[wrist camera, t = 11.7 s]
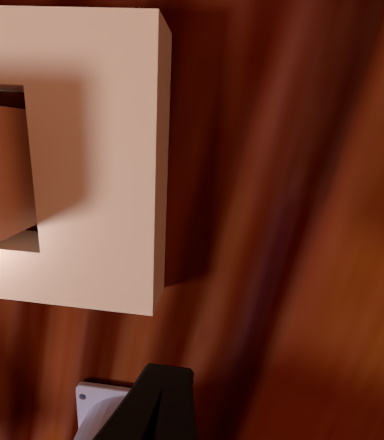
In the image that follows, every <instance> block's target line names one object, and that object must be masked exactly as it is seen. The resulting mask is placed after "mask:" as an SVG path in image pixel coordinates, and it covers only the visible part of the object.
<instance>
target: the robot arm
mask: <svg viewBox="0 0 384 440" xmlns="http://www.w3.org/2000/svg"><path fill="white" fill-rule="evenodd" d="M193 376H194V372H193V371H192V370H191V369H190V368H184V367H176V366H168V365H160V364H153V363H149V364H147V365H146V366H145V368H144V369H143V371H142V373H141V374H140V376H139V377H138V379H137V380H136V382H135V383H134V385H133V386H132V388H127V387H120V386H113V385H105V384H98V383H91V382H80V383H79V384H78V385H77V387H76V400H77V414H78V428H79V430H78V432H77V434H76V436H75V438H74V440H199V436H198V430H197V425H196V417H195V409H194V399H193Z"/></svg>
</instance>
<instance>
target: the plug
mask: <svg viewBox="0 0 384 440" xmlns="http://www.w3.org/2000/svg"><path fill="white" fill-rule="evenodd" d="M36 224H37V217H36V207H35V197H34V187H33V177H32V167H31V157H30V147H29V137H28V127H27V116H26V109H20V108H12V107H4V106H0V242H1V241H3V240H5V239H7V238H9V237H11V236H13V235H15V234H17V233H19V232H22V231H24V230H26V229H28V228H30V227H32V226H34V225H36Z"/></svg>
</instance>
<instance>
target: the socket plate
mask: <svg viewBox="0 0 384 440" xmlns="http://www.w3.org/2000/svg"><path fill="white" fill-rule="evenodd" d="M171 50H172V33H171V31H170V29H169V27H168V25H167V23H166V21H165V19H164V18H163V16H162V14H161V12H160V10H159V9H155V8H106V7H56V6H7V5H0V91H9V92H24V96H25V106H26V116H27V127H28V137H29V147H30V157H31V167H32V177H33V187H34V197H35V207H36V217H37V227H38V231H29V230H24V231H22V232H19V233H17V234H15V235H13V236H11V237H9V238H7V239H5V240H3V241H1V242H0V299H9V300H17V301H26V302H35V303H43V304H52V305H61V306H69V307H78V308H87V309H95V310H104V311H113V312H122V313H130V314H139V315H148V316H153V314H154V311H155V309H156V306H157V304H158V301H159V299H160V296H161V294H162V291H163V289H164V271H165V239H166V208H167V176H168V145H169V113H170V81H171Z"/></svg>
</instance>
